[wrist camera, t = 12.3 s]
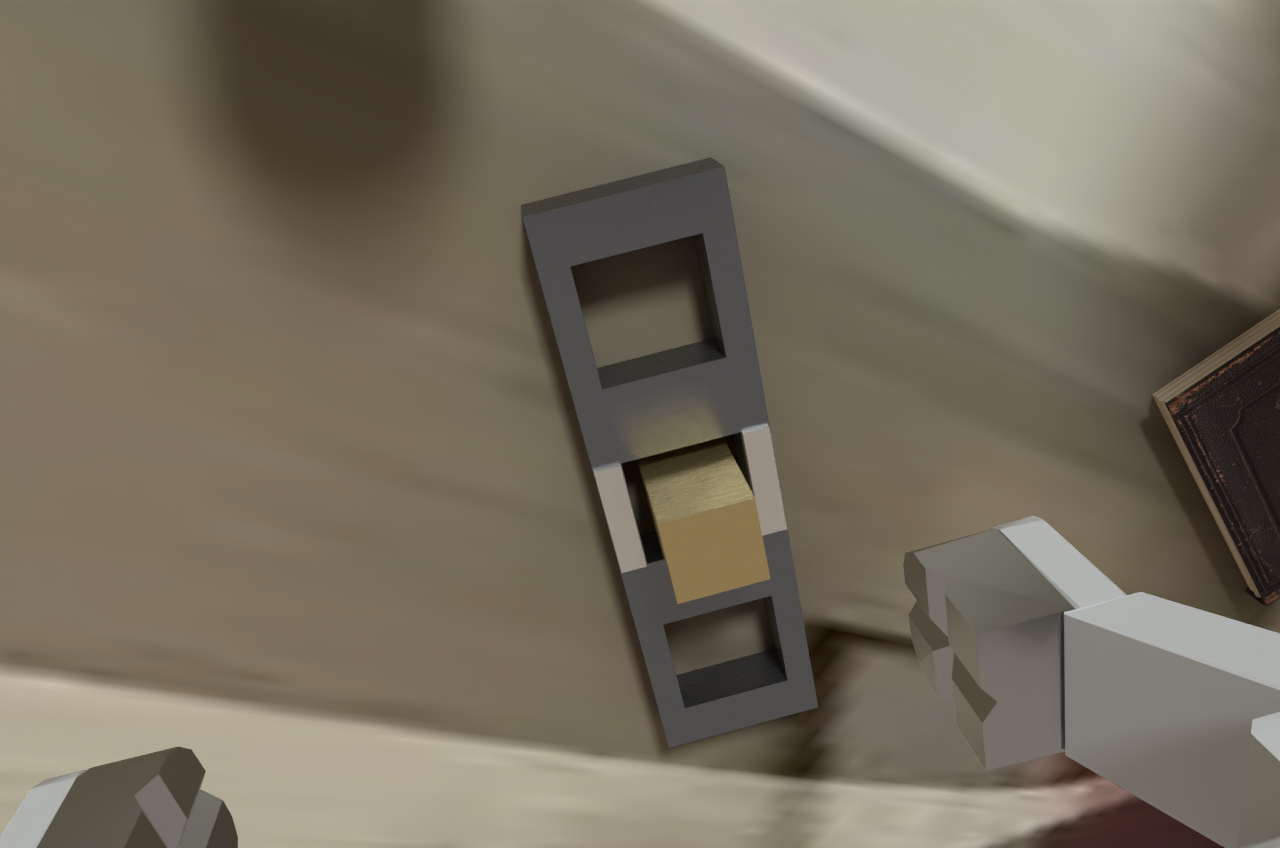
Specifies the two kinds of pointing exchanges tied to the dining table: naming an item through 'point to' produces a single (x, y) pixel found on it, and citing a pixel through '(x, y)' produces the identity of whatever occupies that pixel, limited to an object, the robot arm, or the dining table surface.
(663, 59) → the dining table surface
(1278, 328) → the hardcover book
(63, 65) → the dining table surface
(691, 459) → the block
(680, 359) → the grey slotted tray
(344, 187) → the dining table surface
